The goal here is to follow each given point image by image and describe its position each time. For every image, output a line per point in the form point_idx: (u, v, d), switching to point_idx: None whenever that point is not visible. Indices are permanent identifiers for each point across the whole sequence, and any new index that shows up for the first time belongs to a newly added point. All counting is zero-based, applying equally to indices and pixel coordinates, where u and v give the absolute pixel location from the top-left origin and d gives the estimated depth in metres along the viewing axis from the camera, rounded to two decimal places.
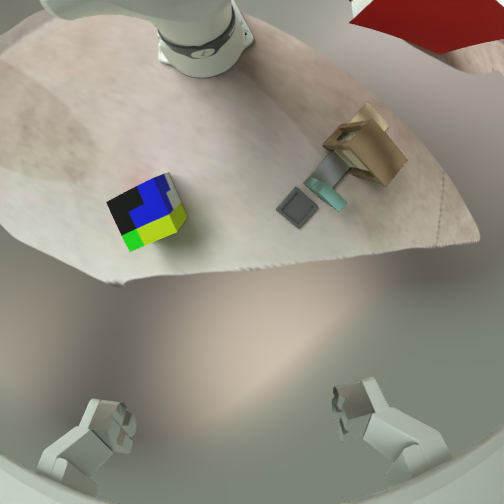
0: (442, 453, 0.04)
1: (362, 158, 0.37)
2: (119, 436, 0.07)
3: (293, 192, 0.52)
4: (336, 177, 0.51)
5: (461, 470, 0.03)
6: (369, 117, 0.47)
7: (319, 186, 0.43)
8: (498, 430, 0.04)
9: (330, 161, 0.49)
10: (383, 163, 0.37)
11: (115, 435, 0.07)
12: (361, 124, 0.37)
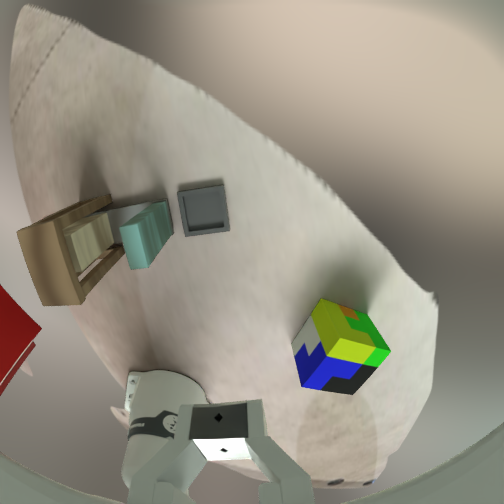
0: (305, 501, 0.04)
1: (69, 279, 0.23)
2: None
3: (193, 234, 0.35)
4: (129, 211, 0.33)
5: (461, 470, 0.03)
6: None
7: None
8: (498, 430, 0.04)
9: None
10: (45, 253, 0.22)
11: None
12: None
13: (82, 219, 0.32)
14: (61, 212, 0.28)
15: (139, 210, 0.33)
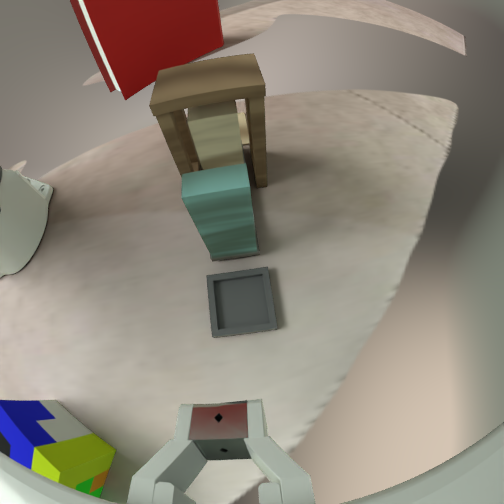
0: (305, 501, 0.04)
1: (185, 94, 0.18)
2: None
3: (209, 286, 0.26)
4: None
5: (461, 470, 0.03)
6: None
7: None
8: (498, 430, 0.04)
9: None
10: (224, 75, 0.19)
11: None
12: None
13: None
14: None
15: None
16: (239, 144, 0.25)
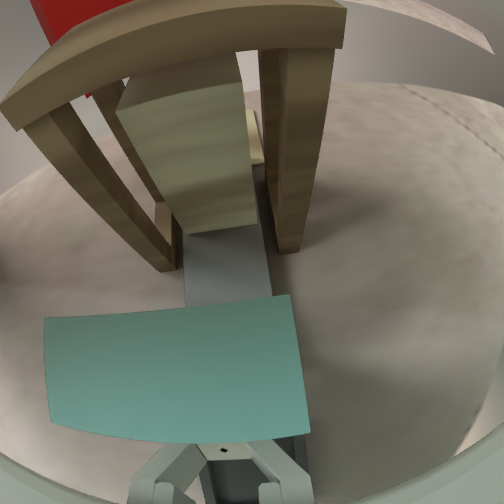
0: (305, 501, 0.04)
1: (76, 52, 0.04)
2: None
3: None
4: (256, 282, 0.15)
5: (461, 470, 0.03)
6: None
7: None
8: (498, 430, 0.04)
9: (199, 264, 0.15)
10: None
11: None
12: None
13: None
14: None
15: None
16: (246, 161, 0.11)
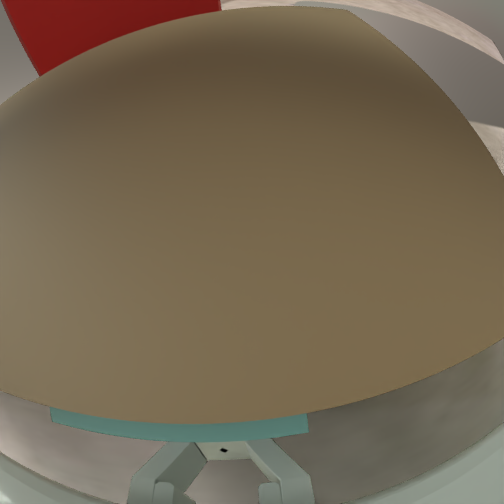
0: (305, 501, 0.04)
1: None
2: None
3: None
4: None
5: (461, 470, 0.03)
6: None
7: None
8: (498, 430, 0.04)
9: None
10: (209, 112, 0.02)
11: None
12: None
13: None
14: None
15: None
16: None
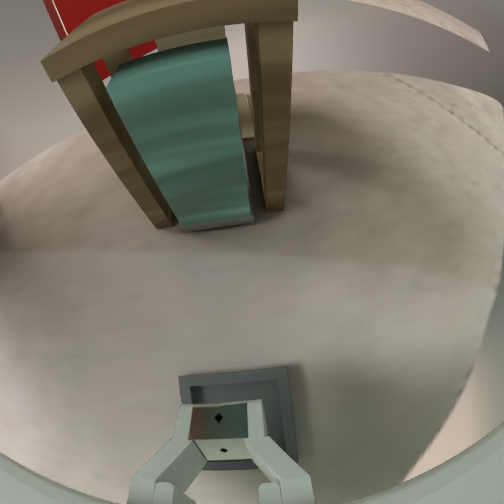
0: (305, 501, 0.04)
1: (108, 24, 0.05)
2: None
3: (184, 395, 0.13)
4: None
5: (461, 470, 0.03)
6: None
7: None
8: (498, 430, 0.04)
9: None
10: None
11: None
12: None
13: None
14: None
15: None
16: None
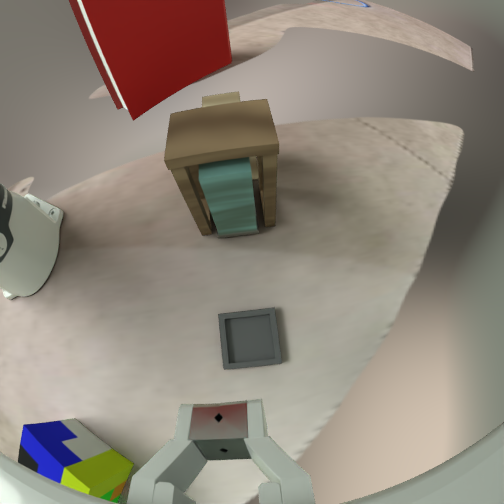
0: (305, 501, 0.04)
1: (199, 151, 0.20)
2: None
3: (221, 324, 0.28)
4: None
5: (461, 470, 0.03)
6: None
7: None
8: (498, 430, 0.04)
9: None
10: (238, 128, 0.21)
11: None
12: None
13: None
14: None
15: None
16: None
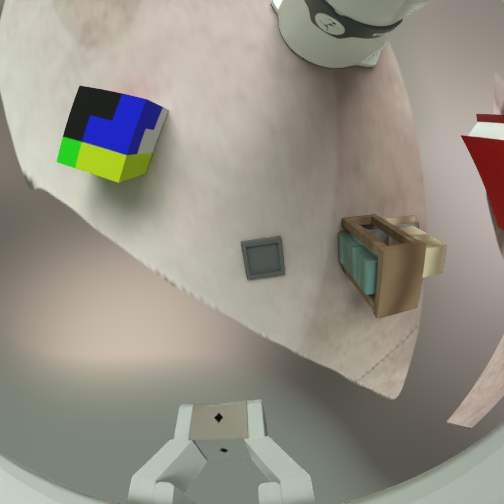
0: (305, 501, 0.04)
1: (383, 274, 0.29)
2: None
3: (273, 240, 0.41)
4: None
5: (461, 469, 0.03)
6: None
7: (366, 253, 0.33)
8: (498, 430, 0.04)
9: (378, 234, 0.40)
10: (396, 294, 0.30)
11: None
12: (407, 237, 0.30)
13: None
14: None
15: None
16: None
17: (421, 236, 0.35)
